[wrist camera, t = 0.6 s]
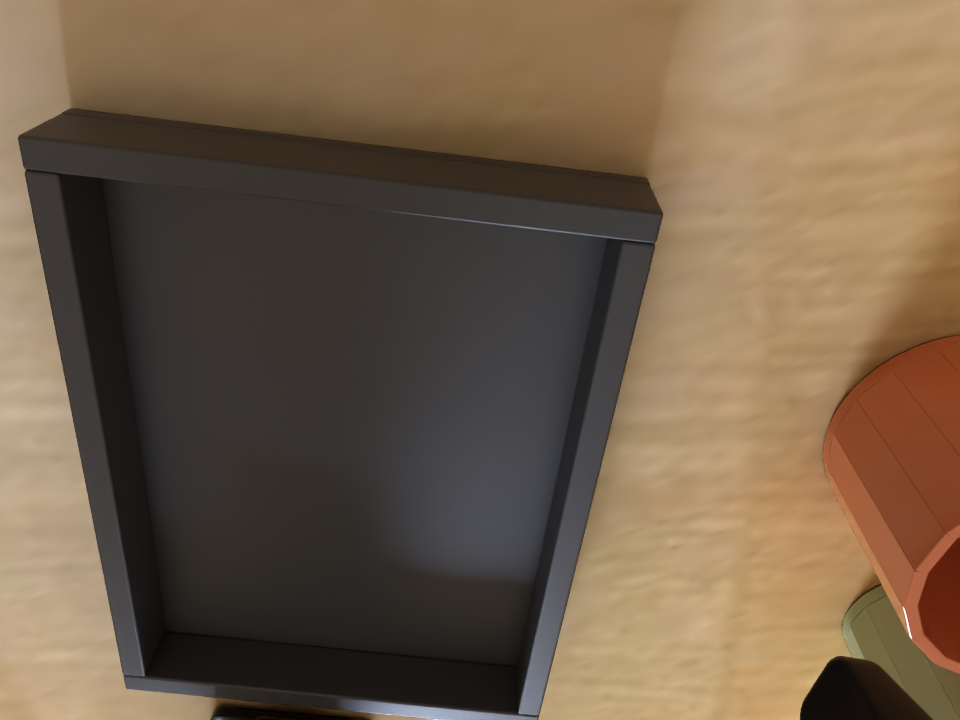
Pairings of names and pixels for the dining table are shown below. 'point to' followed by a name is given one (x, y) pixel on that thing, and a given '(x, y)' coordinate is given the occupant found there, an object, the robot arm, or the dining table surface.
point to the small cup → (900, 655)
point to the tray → (335, 403)
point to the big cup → (907, 487)
